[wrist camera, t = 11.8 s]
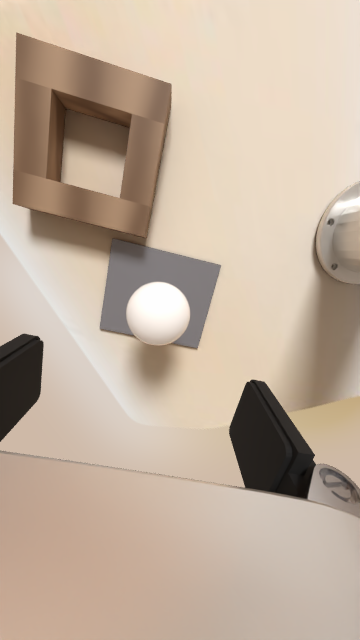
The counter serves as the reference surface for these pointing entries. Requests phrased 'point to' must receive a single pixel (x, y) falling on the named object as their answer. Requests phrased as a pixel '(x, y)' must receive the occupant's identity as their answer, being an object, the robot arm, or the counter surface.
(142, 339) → the lightbulb
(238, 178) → the counter surface
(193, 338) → the mat
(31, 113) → the socket collar
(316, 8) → the counter surface
